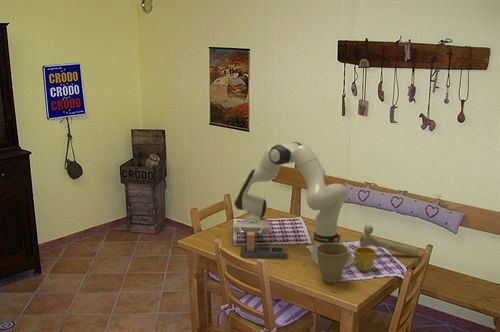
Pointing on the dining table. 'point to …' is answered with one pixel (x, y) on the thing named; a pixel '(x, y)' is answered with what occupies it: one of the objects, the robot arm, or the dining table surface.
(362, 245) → the hammer
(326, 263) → the plant pot
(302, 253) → the dining table surface
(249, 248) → the peg
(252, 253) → the grey slotted tray
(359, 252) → the plant pot
